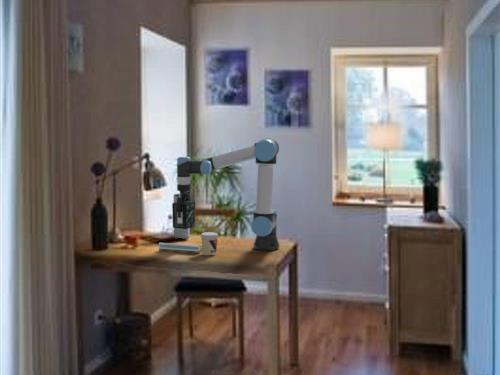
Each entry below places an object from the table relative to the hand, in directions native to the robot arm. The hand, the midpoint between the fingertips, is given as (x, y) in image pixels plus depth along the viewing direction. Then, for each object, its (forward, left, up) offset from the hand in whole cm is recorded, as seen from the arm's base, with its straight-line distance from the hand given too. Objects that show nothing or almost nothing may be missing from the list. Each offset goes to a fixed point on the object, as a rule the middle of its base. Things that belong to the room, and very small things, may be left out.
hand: (183, 221), depth 382 cm
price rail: (0, +8, -15) cm, 17 cm away
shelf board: (0, +1, -16) cm, 16 cm away
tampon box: (0, 0, -4) cm, 4 cm away
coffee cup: (-18, +8, -17) cm, 26 cm away
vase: (+13, -31, -17) cm, 38 cm away
